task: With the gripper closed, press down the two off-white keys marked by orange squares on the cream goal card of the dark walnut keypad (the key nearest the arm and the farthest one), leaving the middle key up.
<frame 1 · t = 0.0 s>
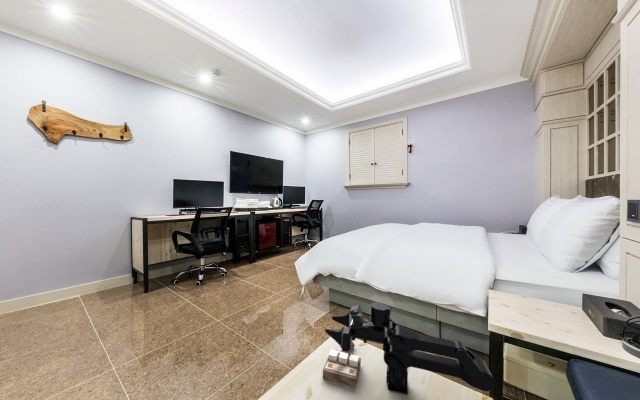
hand: (328, 323, 87), 17 cm above the table, tool horizontal, fingers open, 9 cm apart
key middle: (343, 358, 86), point 4 cm above the table, slide at 0.0 cm
key near: (354, 361, 85), point 4 cm above the table, slide at 0.0 cm
key far: (333, 356, 87), point 4 cm above the table, slide at 0.0 cm
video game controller: (348, 354, 94), on the table, touching keypad
keypad: (342, 372, 84), on the table
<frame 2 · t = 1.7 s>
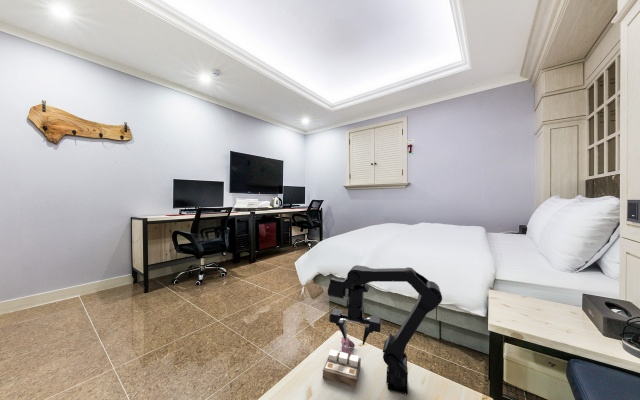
hand: (354, 342, 84), 11 cm above the table, tool pointing down, fingers open, 6 cm apart
nothing on the table moved.
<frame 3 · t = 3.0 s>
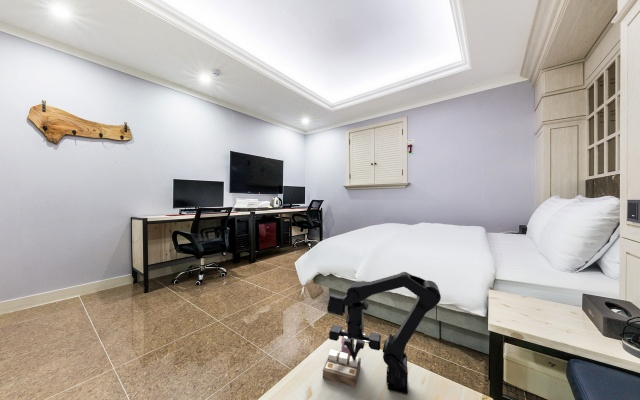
hand: (354, 359, 85), 5 cm above the table, tool pointing down, fingers closed, pressing on key near
key near: (354, 362, 85), point 3 cm above the table, slide at 0.4 cm, touching gripper
everything else where it was.
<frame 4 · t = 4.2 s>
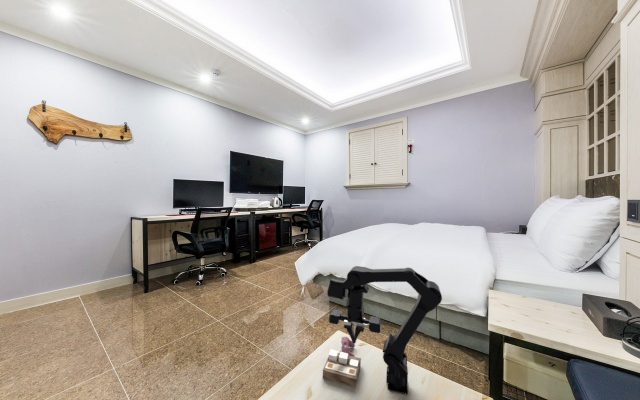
hand: (354, 342, 85), 11 cm above the table, tool pointing down, fingers closed
key near: (353, 365, 85), point 2 cm above the table, slide at 1.7 cm
everything else where it was.
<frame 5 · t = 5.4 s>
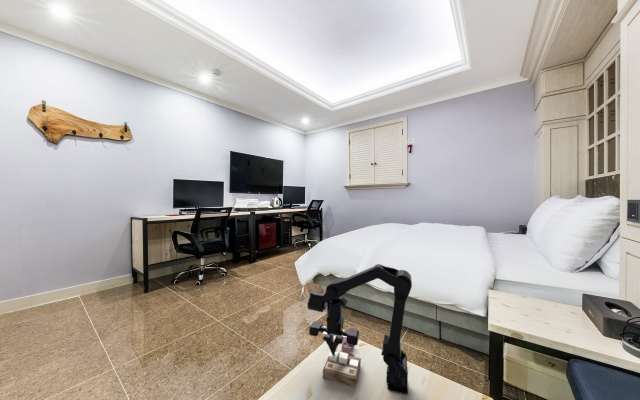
hand: (333, 354, 87), 5 cm above the table, tool pointing down, fingers closed, pressing on key far
key far: (333, 357, 87), point 3 cm above the table, slide at 0.5 cm, touching gripper
everything else where it was.
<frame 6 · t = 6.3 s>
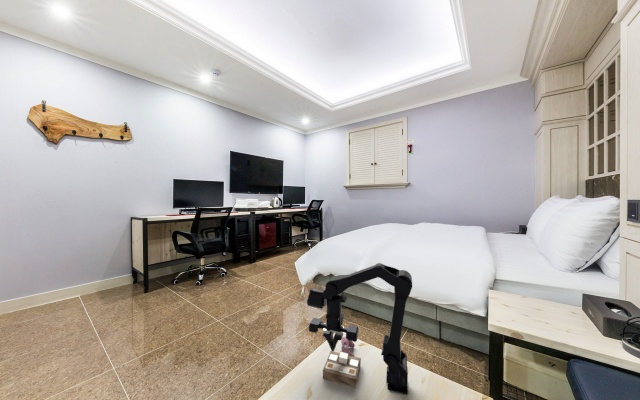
hand: (333, 350, 87), 6 cm above the table, tool pointing down, fingers closed
key far: (333, 360, 87), point 2 cm above the table, slide at 1.7 cm
everything else where it was.
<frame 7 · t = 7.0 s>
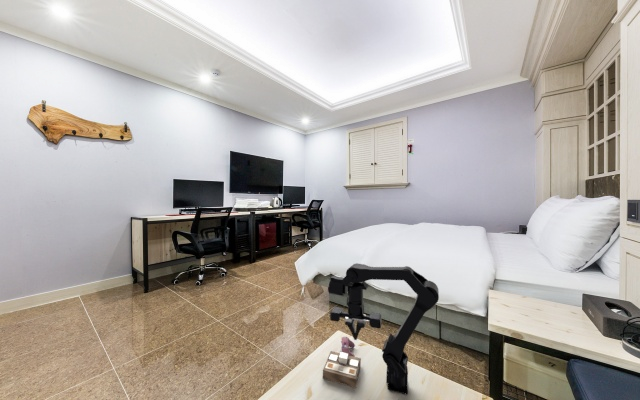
hand: (355, 339, 86), 11 cm above the table, tool pointing down, fingers closed
nothing on the table moved.
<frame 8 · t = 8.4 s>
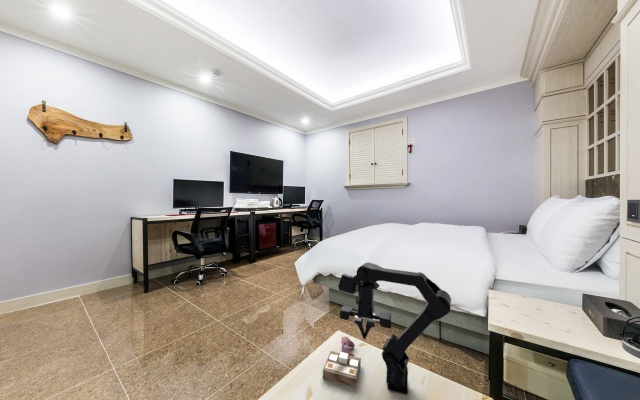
hand: (364, 338, 85), 12 cm above the table, tool pointing down, fingers closed
nothing on the table moved.
at the end: key near slide at 1.7 cm; key far slide at 1.7 cm; key middle slide at 0.0 cm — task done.
